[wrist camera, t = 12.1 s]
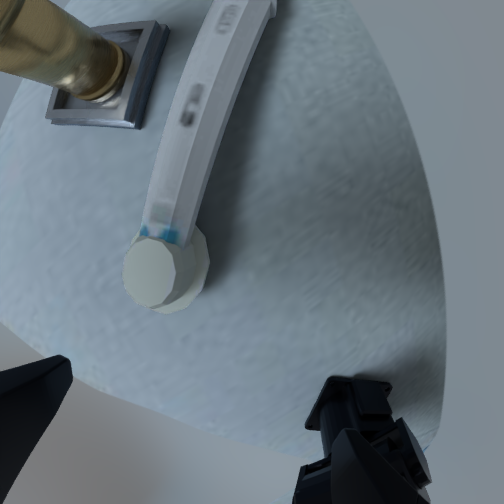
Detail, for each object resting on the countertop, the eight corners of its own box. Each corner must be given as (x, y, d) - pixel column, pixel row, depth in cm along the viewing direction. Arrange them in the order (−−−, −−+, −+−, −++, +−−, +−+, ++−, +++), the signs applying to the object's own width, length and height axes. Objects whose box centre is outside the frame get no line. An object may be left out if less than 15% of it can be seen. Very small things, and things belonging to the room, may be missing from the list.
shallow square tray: (139, 129, 18) (125, 124, 16) (58, 125, 18) (41, 122, 16) (170, 30, 16) (161, 17, 14) (86, 37, 16) (72, 28, 14)
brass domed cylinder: (109, 110, 17) (-38, 68, 4) (69, 94, 16) (-60, 61, 4) (141, 53, 16) (26, -36, 3) (98, 42, 15) (-12, -23, 3)
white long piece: (296, -37, 11) (177, 349, 14) (288, 16, 18) (201, 311, 20) (220, -46, 11) (90, 316, 14) (228, 6, 18) (136, 289, 20)
